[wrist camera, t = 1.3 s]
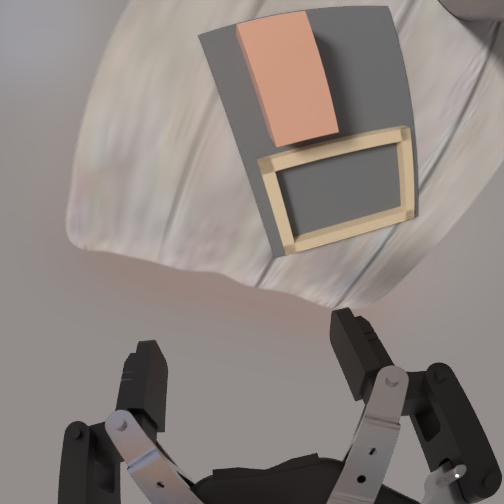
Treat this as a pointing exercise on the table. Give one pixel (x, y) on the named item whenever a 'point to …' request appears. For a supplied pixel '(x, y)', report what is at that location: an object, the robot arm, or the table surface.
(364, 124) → the mat
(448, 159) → the table surface
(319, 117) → the terracotta block
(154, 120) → the table surface
